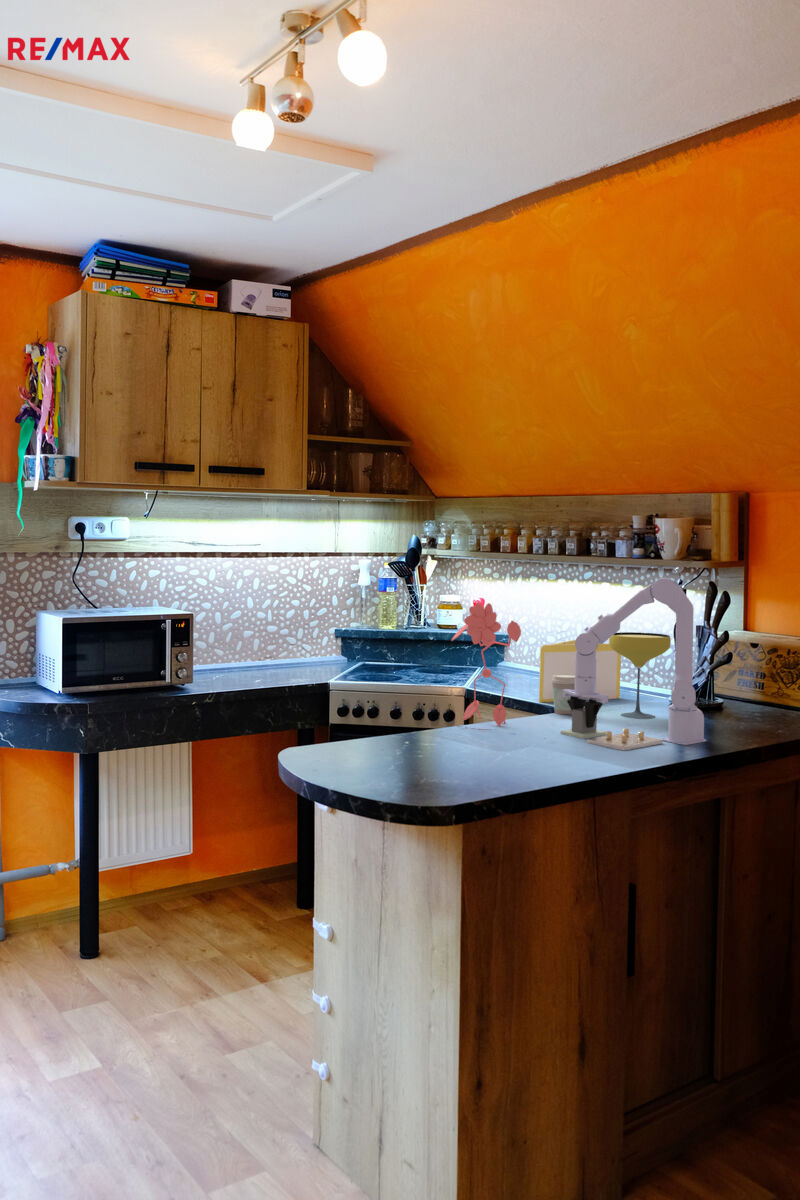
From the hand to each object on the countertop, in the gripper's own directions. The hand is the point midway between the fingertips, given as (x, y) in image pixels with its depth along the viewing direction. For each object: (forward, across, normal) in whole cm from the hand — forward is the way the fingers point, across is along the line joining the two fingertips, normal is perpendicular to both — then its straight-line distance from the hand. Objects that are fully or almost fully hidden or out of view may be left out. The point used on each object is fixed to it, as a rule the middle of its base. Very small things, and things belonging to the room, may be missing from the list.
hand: (584, 726), depth 273 cm
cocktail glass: (+3, -10, +36) cm, 37 cm away
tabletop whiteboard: (+3, -42, +47) cm, 63 cm away
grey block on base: (+2, 0, 0) cm, 2 cm away
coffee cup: (+3, -25, +20) cm, 32 cm away
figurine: (+3, -27, -14) cm, 31 cm away
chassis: (+2, +14, 0) cm, 14 cm away
